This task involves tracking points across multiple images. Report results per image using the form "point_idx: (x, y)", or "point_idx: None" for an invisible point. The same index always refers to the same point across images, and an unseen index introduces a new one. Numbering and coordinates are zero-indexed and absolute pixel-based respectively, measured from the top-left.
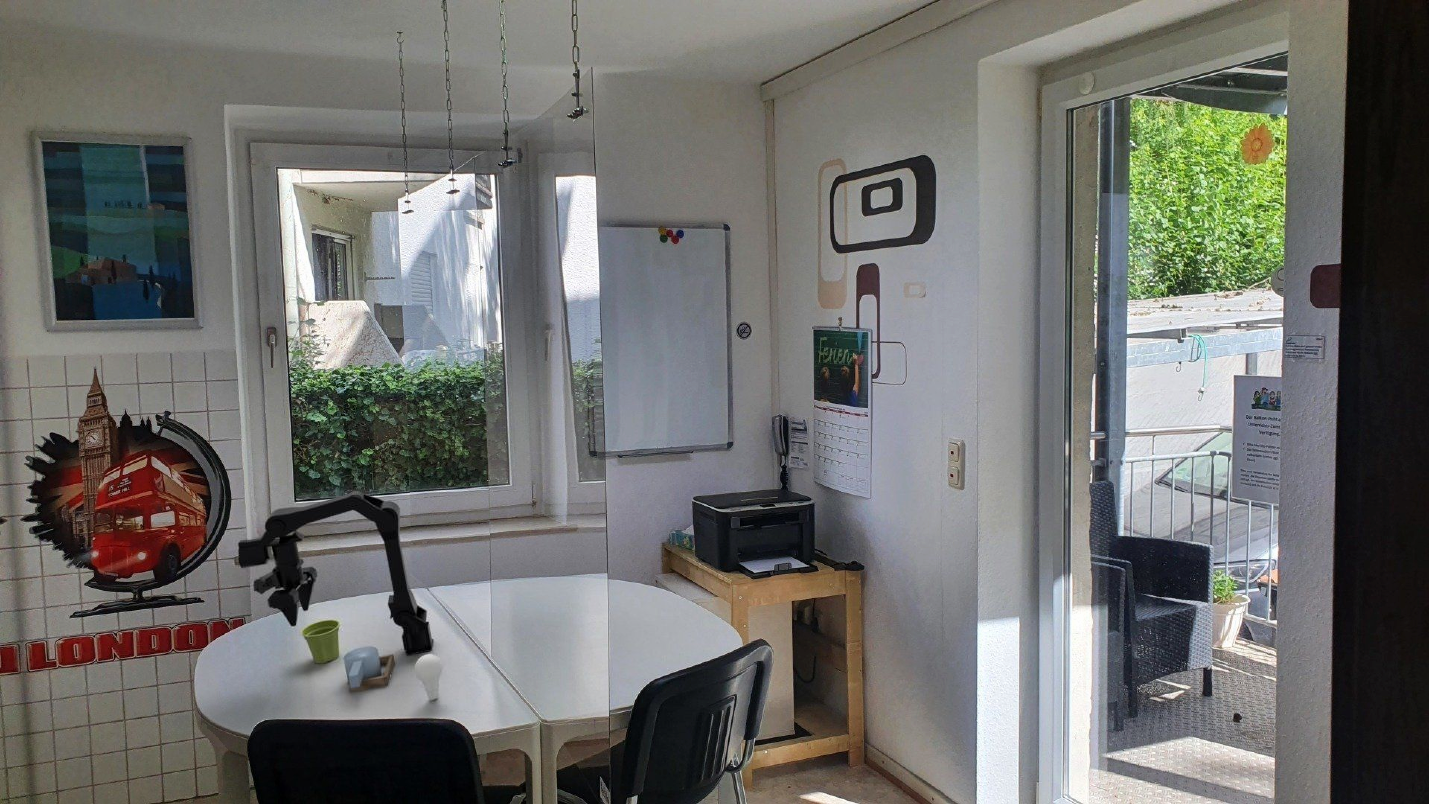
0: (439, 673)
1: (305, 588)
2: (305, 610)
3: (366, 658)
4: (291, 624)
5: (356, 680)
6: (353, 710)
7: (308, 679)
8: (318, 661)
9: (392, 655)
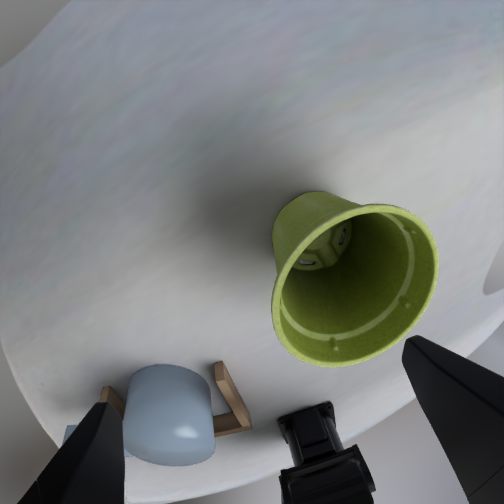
0: None
1: (500, 498)
2: (405, 350)
3: (145, 459)
4: (92, 419)
5: None
6: (50, 407)
7: (153, 248)
8: (274, 228)
9: (244, 430)
